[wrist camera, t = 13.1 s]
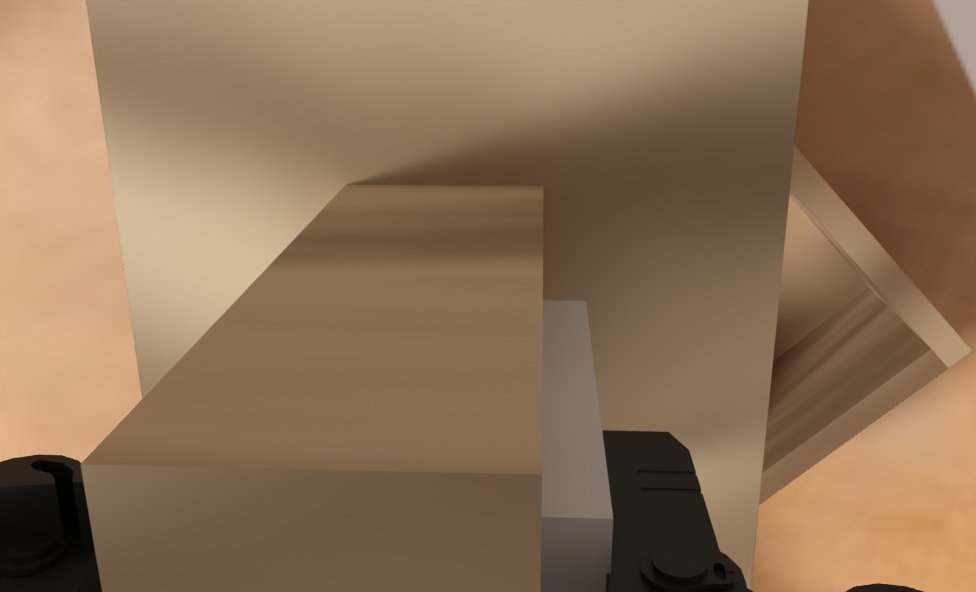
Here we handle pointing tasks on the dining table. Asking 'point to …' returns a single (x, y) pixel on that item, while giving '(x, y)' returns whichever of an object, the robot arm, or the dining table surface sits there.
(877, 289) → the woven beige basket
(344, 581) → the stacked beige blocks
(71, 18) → the dining table surface
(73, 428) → the dining table surface
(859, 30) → the dining table surface
